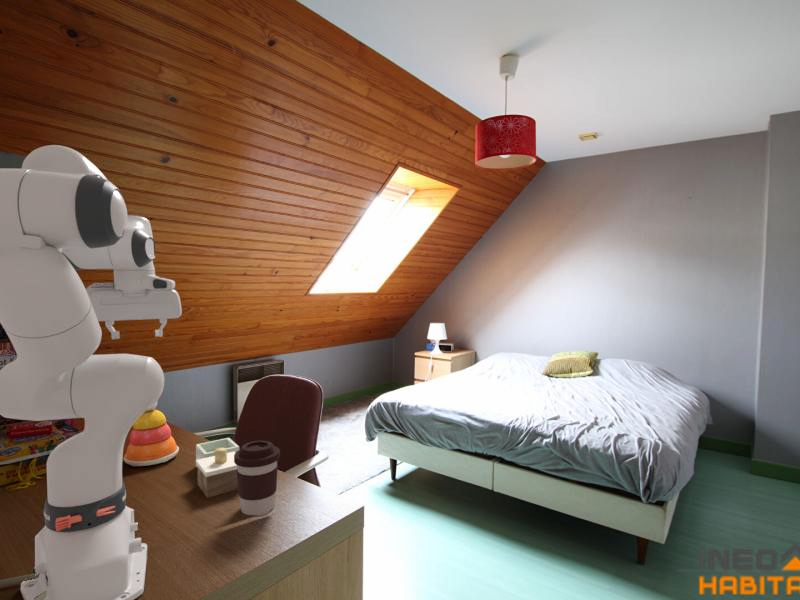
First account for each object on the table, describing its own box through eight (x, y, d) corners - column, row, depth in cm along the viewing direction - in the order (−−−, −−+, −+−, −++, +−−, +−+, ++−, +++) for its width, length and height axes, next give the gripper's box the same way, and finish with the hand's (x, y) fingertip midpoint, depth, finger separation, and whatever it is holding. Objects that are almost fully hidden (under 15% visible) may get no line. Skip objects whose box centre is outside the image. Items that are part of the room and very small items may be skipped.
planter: (239, 471, 123) (239, 446, 123) (205, 480, 118) (204, 454, 118) (229, 461, 131) (229, 437, 130) (196, 469, 125) (195, 444, 125)
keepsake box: (245, 490, 112) (244, 466, 112) (207, 501, 107) (207, 476, 107) (233, 477, 120) (233, 455, 119) (197, 487, 114) (197, 464, 114)
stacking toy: (181, 447, 141) (180, 386, 140) (176, 465, 128) (174, 397, 127) (129, 454, 136) (127, 390, 135) (118, 472, 123) (116, 402, 122)
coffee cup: (240, 526, 96) (239, 457, 95) (230, 506, 104) (229, 442, 104) (286, 513, 101) (285, 447, 101) (273, 495, 110) (272, 435, 109)
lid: (246, 469, 112) (246, 451, 112) (206, 479, 106) (205, 460, 106) (234, 457, 120) (234, 440, 120) (195, 466, 114) (195, 448, 114)
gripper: (81, 283, 105) (84, 342, 106) (178, 282, 112) (180, 337, 113) (89, 282, 111) (92, 338, 112) (181, 281, 118) (183, 333, 119)
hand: (137, 337), depth 112 cm, fingers open, 8 cm apart
